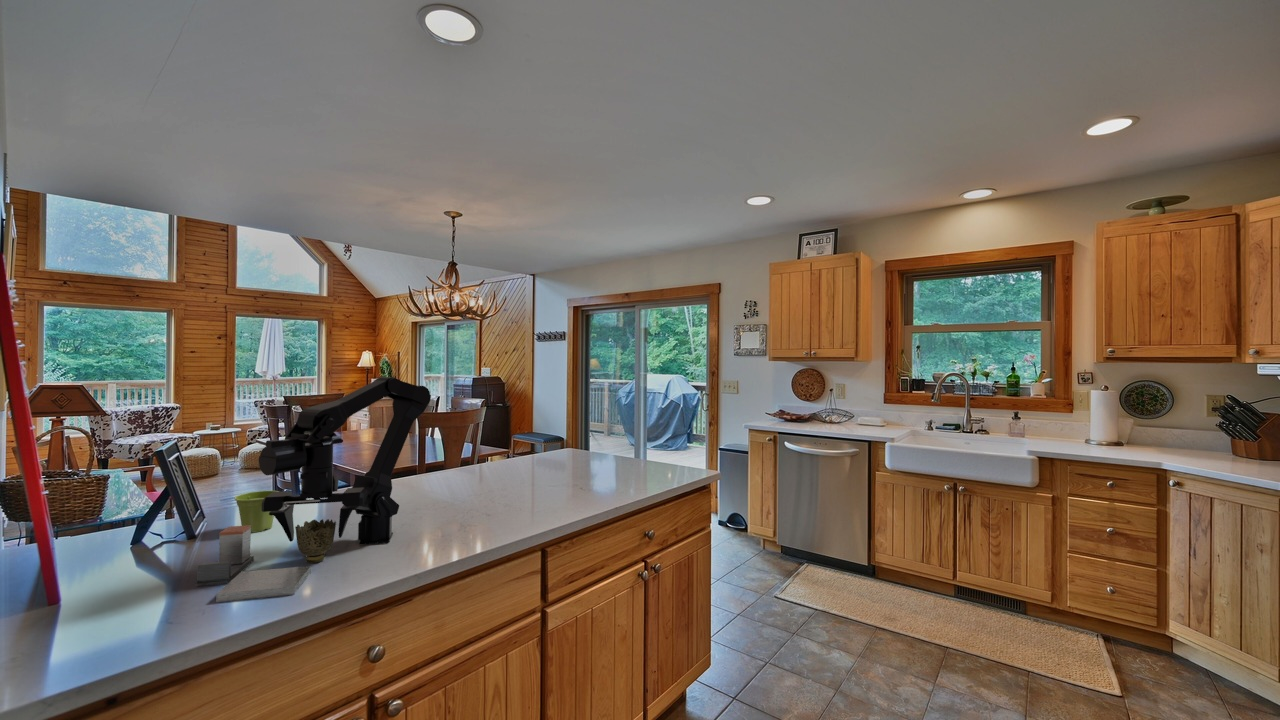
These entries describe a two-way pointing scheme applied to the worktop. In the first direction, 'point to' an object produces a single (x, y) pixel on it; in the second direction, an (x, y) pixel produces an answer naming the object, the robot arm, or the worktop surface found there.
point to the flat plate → (264, 583)
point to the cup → (315, 539)
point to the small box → (235, 544)
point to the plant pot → (254, 510)
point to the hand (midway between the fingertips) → (316, 539)
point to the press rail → (219, 572)
